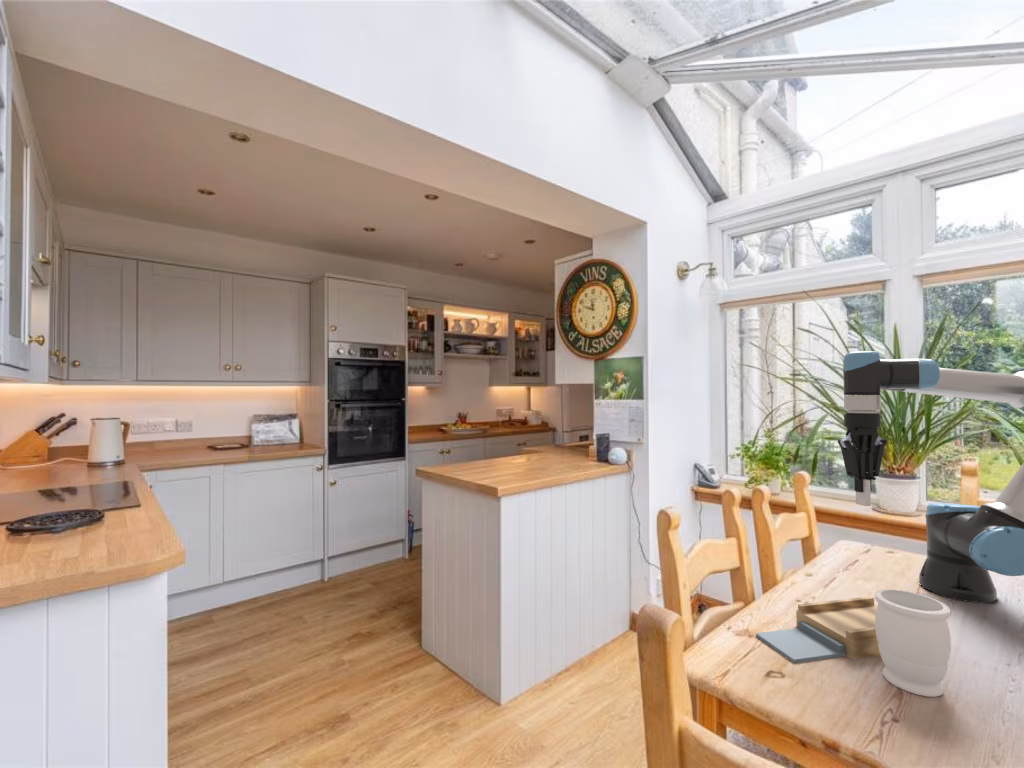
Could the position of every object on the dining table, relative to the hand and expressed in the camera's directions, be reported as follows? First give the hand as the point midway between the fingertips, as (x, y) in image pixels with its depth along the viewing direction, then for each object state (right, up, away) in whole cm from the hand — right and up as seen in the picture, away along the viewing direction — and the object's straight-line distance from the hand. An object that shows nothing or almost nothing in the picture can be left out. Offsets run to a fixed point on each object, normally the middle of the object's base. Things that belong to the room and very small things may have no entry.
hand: (863, 504), depth 120 cm
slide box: (-14, -24, -18) cm, 33 cm away
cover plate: (-30, -25, -22) cm, 44 cm away
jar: (-17, -24, -34) cm, 45 cm away
